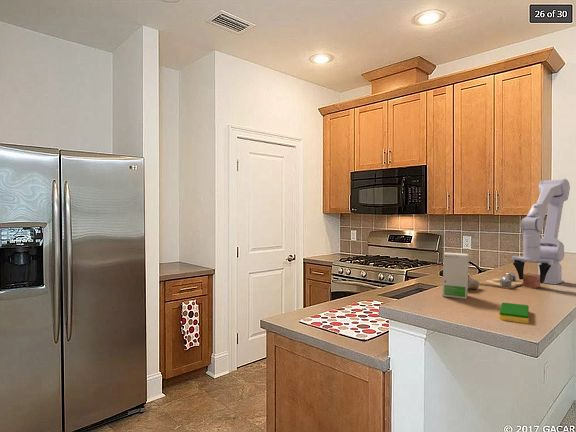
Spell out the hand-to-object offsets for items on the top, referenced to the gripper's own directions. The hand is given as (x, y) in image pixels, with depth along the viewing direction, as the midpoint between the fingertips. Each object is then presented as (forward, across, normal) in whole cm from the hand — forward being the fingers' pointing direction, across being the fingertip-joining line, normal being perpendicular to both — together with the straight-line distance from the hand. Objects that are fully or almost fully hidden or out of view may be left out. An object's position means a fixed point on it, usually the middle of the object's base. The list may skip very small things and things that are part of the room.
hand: (531, 280), depth 153 cm
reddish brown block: (+2, 0, 0) cm, 3 cm away
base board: (+2, -10, -3) cm, 10 cm away
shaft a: (+2, -10, +3) cm, 10 cm away
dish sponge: (+3, +15, -48) cm, 51 cm away
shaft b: (+2, -6, -9) cm, 11 cm away
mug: (+3, -14, -24) cm, 28 cm away
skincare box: (+3, -10, -39) cm, 40 cm away
